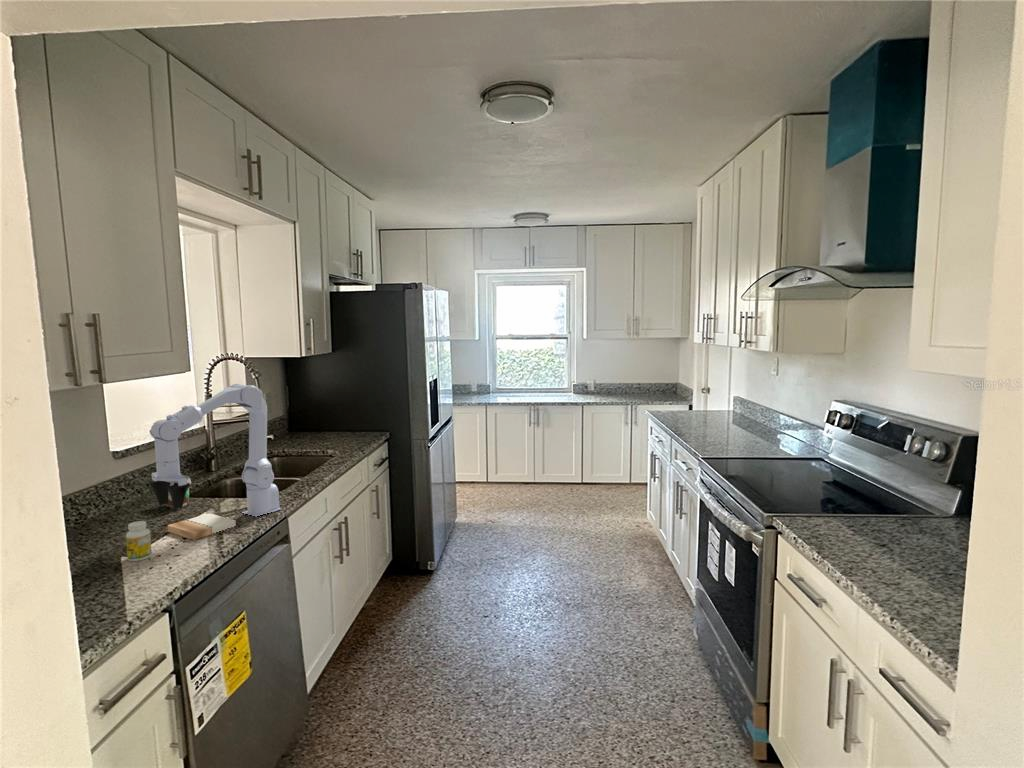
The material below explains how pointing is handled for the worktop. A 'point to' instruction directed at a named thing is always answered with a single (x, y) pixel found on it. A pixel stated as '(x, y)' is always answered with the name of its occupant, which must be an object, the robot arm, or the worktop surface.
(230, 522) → the board
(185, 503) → the food container
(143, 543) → the supplement bottle
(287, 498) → the worktop surface
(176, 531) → the tan flat block
